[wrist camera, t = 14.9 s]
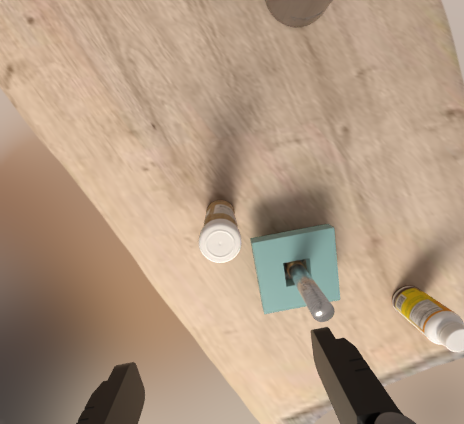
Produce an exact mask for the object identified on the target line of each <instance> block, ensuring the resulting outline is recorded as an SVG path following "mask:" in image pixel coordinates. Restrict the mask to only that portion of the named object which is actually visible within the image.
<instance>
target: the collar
mask: <svg viewBox="0 0 464 424" xmlns="http://www.w3.org/2000/svg"><path fill="white" fill-rule="evenodd" d="M250 239H251V244H252V250H253V256H254V261H255V267H256V273H257V278H258V284H259V290H260V295H261V301H262V306H263V310H264V314H268V313H273V312H279V311H284V310H289V309H294V308H300V307H305V306H307V305H306V303H305V301H304V300H303V298H302V296H301V294H300V292H299V291H298V289H297V287H296V285H295V284H294V282H293V280H292V278H291V279H286V280H285V273H284V266H283V263H286V262H292V261H297V260H302V259H306V265H307V272H308V273H309V274H310V276H311V277H312V278H313V280H314V281H315V282H316V284H317V285H318V287H319V288H320V289H321V291H322V292H323V293H324V295H325V296H326V298H327V299H328V300H329V302H331V301H337V300H340V291H339V279H338V267H337V255H336V243H335V231H334V227H332V226H331V225H329V224H324V225H318V226H313V227H308V228H303V229H297V230H292V231H287V232H282V233H276V234H271V235H266V236H261V237H255V238H250Z"/></svg>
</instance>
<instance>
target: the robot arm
mask: <svg viewBox="0 0 464 424" xmlns="http://www.w3.org/2000/svg"><path fill="white" fill-rule="evenodd" d="M265 1H266V4H267V6H268V8H269V10H270V12H271V13H272V15H273V16H274V17H275V18H276V19H277V20H278V21H280V22H281V23H283V24H285V25H287V26H292V27H303V26H306V25H309V24H311V23H313V22H314V21H316V20H317V19H318V18H319V17H320V16H321V15H322V14H323V13H324V11H325V10H326V8H327V7H328V6H329V4H330V3H331V2H332V0H265ZM311 339H312V348H313V356H314V361H315V365H316V368H317V371H318V374H319V376H320V378H321V381H322V383H323V385H324V388H325V390H326V392H327V394H328V397H329V399H330V401H331V404H332V406H333V408H334V410H335V413H336V415H337V417H338V420H339V422H340V424H416V423H415V422H414V421H412V420H411V419H409V418H408V417H406V416H404V415H403V414H402V413H401V412H400V410H399V409H398V408H397V406H396V405H395V404H394V402H393V400H392V399H391V397H390V396H389V395H388V393H387V392H386V390H385V389H384V387H383V386H382V384H381V383H380V382H379V380H378V379H377V377H376V376H375V374H374V373H373V371H372V370H370V367H369V366H368V364H367V363H366V361H365V360H364V359H363V357H362V355H361V354H360V353H359V351H358V350H357V348H356V347H355V346H354V345H353V344H351V343H350V342H349V341H348V340H346V339H345V338H340V339H335V337H334V335H333V334H332V332H331V331H330V329H329V328H328V327H325V328H319V329H314V330H311ZM144 400H145V390H144V386H143V383H142V380H141V378H140V374H139V372H138V369H137V366H136V364H135V363H134V362H132V363H126V364H122V365H116V366H115V367H114V369H113V371H112V373H111V375H110V377H109V379H108V381H103V382H102V383H101V384H100V386H99V387H98V388H97V389H96V390H95V391H94V393H93V394H92V395H91V397H90V399H89V401H88V403H87V404H86V406H85V410H84V411H83V412H82V414H81V416H80V417H79V420H78V423H76V424H138V421H139V418H140V415H141V411H142V409H143V405H144Z"/></svg>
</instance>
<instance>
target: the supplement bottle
mask: <svg viewBox="0 0 464 424" xmlns="http://www.w3.org/2000/svg"><path fill="white" fill-rule="evenodd" d="M392 304H393V307H394V308H395V310H396V311H397V312H398V313H400V314H401V315H402V316H403V317H404V318H405V319H406V320H407V321H409V322H410V323H411V324H412V325H413V326H414V327H415V328H416V329H418V330H419V331H420V332H421V333H422V334H423V335H424V336H425V337H427V338H428V339H429V340H430V341H431V342H433V343H435V344H439V345H444V346H445V347H446V348H447V349H449V350H450V351H453V352H461V351H464V324H463V321H462V319H461V318H460V316H458V315H457V314H456V313H454V312H453V311H451V310H450V309H448V308H447V307H445V306H444V305H442V304H441V303H439V302H438V301H436V300H435V299H433V298H432V297H430V296H429V295H428V294H426V293H425V292H423V291H422V290H420V289H418V288H416V287H414V286H406V287H403V288H401V289H399V290H398V291H397V292H396V293H395V294H394V296H393V299H392Z"/></svg>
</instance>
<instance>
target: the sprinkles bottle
mask: <svg viewBox="0 0 464 424" xmlns="http://www.w3.org/2000/svg"><path fill="white" fill-rule="evenodd" d="M199 248H200V250H201V252H202V254H203V255H204V256H205V257H206V258H207V259H208V260H210V261H213V262H217V263H224V262H227V261H230V260H232V259H233V258H234V257H235V256H236V255H237V254H238V253H239V251H240V248H241V235H240V232H239V229H238V227H237V222H236V218H235V213H234V209H233V207H232V205H230V204H229V203H228V202H226V201H223V200H217V201H214V202H212V203H211V204H210V205H209V206H208V208H207V211H206V216H205V221H204V227H203V228H202V230H201V233H200V237H199Z"/></svg>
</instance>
